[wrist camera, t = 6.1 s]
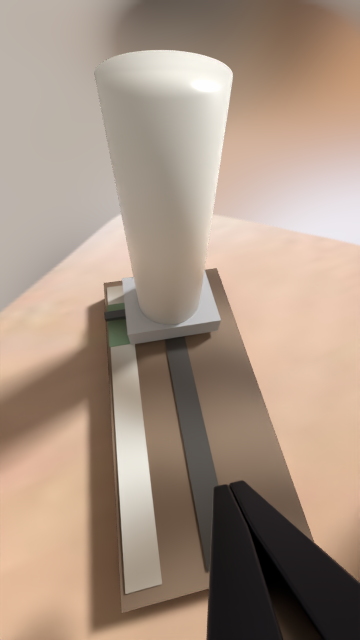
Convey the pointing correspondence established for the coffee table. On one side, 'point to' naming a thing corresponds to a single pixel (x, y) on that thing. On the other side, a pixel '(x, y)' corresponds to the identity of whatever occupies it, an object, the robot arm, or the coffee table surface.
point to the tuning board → (184, 449)
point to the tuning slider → (165, 183)
